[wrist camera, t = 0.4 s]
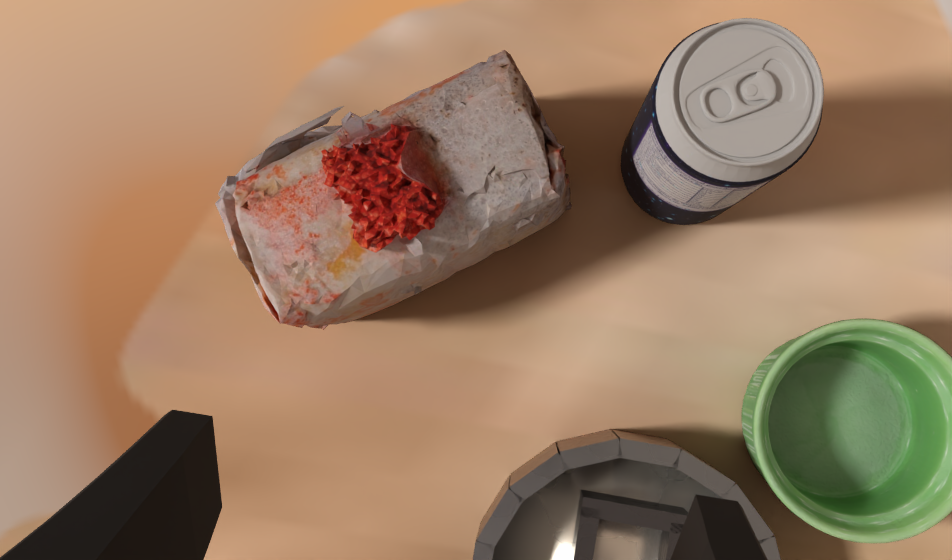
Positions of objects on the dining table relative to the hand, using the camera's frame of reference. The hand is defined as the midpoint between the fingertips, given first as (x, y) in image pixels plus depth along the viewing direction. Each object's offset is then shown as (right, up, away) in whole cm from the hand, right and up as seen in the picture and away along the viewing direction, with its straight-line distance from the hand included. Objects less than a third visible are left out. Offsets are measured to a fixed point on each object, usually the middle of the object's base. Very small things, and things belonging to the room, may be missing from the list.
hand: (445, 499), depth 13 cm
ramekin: (+17, -3, +25) cm, 31 cm away
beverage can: (+10, +9, +27) cm, 30 cm away
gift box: (-2, +6, +27) cm, 28 cm away
